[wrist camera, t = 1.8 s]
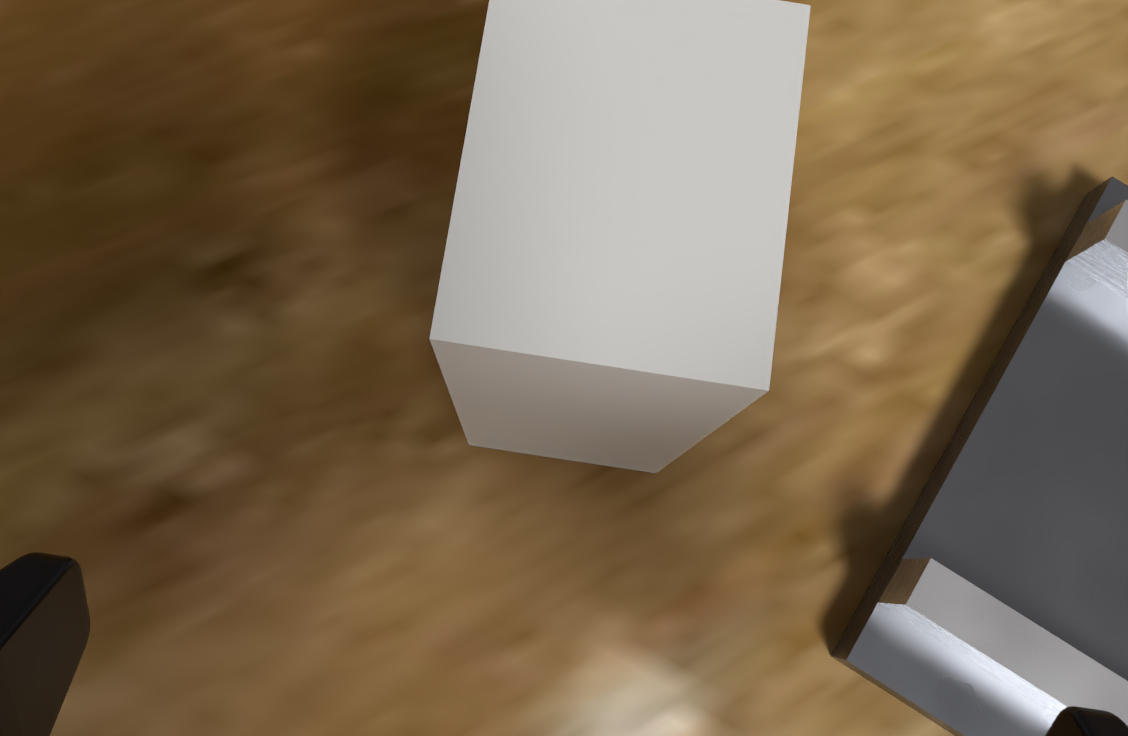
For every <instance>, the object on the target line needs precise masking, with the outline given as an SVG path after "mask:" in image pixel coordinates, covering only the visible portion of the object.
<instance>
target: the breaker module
mask: <svg viewBox="0 0 1128 736" xmlns="http://www.w3.org/2000/svg"><path fill="white" fill-rule="evenodd" d="M810 6H811V5H805V4H799V3H792V2H786V1H780V0H489V5H488V11H487V16H486V22H485V28H484V33H483V39H482V44H481V50H480V56H479V61H478V67H477V73H476V78H475V84H474V90H473V95H472V101H471V106H470V112H469V118H468V123H467V129H466V135H465V140H464V146H463V152H462V157H461V163H460V169H459V174H458V180H457V185H456V191H455V197H454V202H453V208H452V214H451V219H450V225H449V231H448V236H447V242H446V248H445V253H444V259H443V264H442V270H441V276H440V281H439V287H438V293H437V298H436V304H435V310H434V315H433V321H432V327H431V332H430V338H429V339H430V342H431V345H432V347H433V350H434V353H435V356H436V358H437V361H438V364H439V366H440V369H441V372H442V374H443V377H444V380H445V383H446V385H447V388H448V391H449V393H450V396H451V399H452V401H453V404H454V407H455V410H456V412H457V415H458V418H459V420H460V423H461V426H462V428H463V431H464V434H465V437H466V439H467V442H468V445H471V446H478V447H484V448H491V449H498V450H504V451H511V452H518V453H524V454H531V455H537V456H544V457H551V458H557V459H564V460H571V461H577V462H584V463H590V464H597V465H604V466H610V467H617V468H623V469H630V470H637V471H643V472H650V473H657V472H659V471H660V470H661V469H663V468H664V467H666V466H667V465H668V464H670V463H671V462H672V461H674V460H675V459H676V458H678V457H679V456H681V455H682V454H683V453H685V452H686V451H687V450H689V449H690V448H691V447H693V446H694V445H696V444H697V443H698V442H700V441H701V440H702V439H704V438H705V437H706V436H708V435H709V434H711V433H712V432H713V431H715V430H716V429H717V428H719V427H720V426H721V425H723V424H724V423H726V422H727V421H728V420H730V419H731V418H732V417H734V416H735V415H736V414H738V413H739V412H741V411H742V410H743V409H745V408H746V407H747V406H749V405H750V404H751V403H753V402H754V401H756V400H757V399H758V398H760V397H761V396H762V395H764V394H765V393H767V392H768V391H769V386H770V377H771V368H772V359H773V349H774V340H775V331H776V321H777V312H778V303H779V294H780V284H781V275H782V266H783V256H784V247H785V238H786V229H787V219H788V210H789V201H790V191H791V182H792V173H793V164H794V154H795V145H796V136H797V126H798V117H799V108H800V99H801V89H802V80H803V71H804V61H805V52H806V43H807V33H808V24H809V15H810Z"/></svg>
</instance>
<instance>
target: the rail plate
mask: <svg viewBox="0 0 1128 736" xmlns="http://www.w3.org/2000/svg"><path fill="white" fill-rule="evenodd" d="M832 657H833V658H835V659H836V660H838V661H839V662H841V663H842V664H844V665H846V666H847V667H849V668H850V669H852V670H853V671H855V672H857V673H858V674H860V675H861V676H863V677H864V678H866V679H868V680H869V681H871V682H872V683H874V684H875V685H877V686H878V687H880V688H882V689H883V690H885V691H886V692H888V693H889V694H891V695H893V696H894V697H896V698H897V699H899V700H900V701H902V702H904V703H905V704H907V705H908V706H910V707H911V708H913V709H914V710H916V711H918V712H919V713H921V714H922V715H924V716H925V717H927V718H929V719H930V720H932V721H933V722H935V723H936V724H938V725H940V726H941V727H943V728H944V729H946V730H947V731H949V732H950V733H952V734H954V735H955V736H1045V735H1046V733H1047V731H1048V730H1049V728H1050V727H1051V725H1052V723H1053V722H1054V720H1055V719H1056V717H1057V715H1058V714H1059V713H1060V711H1062V710H1063V709H1065V708H1067V707H1069V706H1076V707H1083V708H1090V709H1097V710H1103V711H1108V712H1110V713H1113V714H1114V715H1116V716H1117V717H1119V718H1120V719H1121V720H1122V721H1123V722H1124V723H1125V724H1126V725H1127V726H1128V186H1127V185H1126V184H1124V183H1122V182H1121V181H1119V180H1117V179H1116V178H1114V177H1111V178H1109V179H1108V180H1106V181H1105V182H1103V183H1102V184H1101V185H1099V186H1098V187H1096V188H1095V189H1093V190H1092V191H1090V192H1089V193H1087V195H1086V197H1085V199H1084V200H1083V202H1082V204H1081V206H1080V208H1079V210H1078V211H1077V213H1076V215H1075V217H1074V219H1073V220H1072V222H1071V224H1070V226H1069V228H1068V229H1067V231H1066V233H1065V235H1064V237H1063V238H1062V240H1061V242H1060V244H1059V246H1058V247H1057V249H1056V251H1055V253H1054V255H1053V256H1052V258H1051V260H1050V262H1049V264H1048V265H1047V267H1046V269H1045V271H1044V273H1043V275H1042V276H1041V278H1040V280H1039V282H1038V284H1037V285H1036V287H1035V289H1034V291H1033V293H1032V294H1031V296H1030V298H1029V300H1028V302H1027V303H1026V305H1025V307H1024V309H1023V311H1022V312H1021V314H1020V316H1019V318H1018V320H1017V321H1016V323H1015V325H1014V327H1013V329H1012V331H1011V332H1010V334H1009V336H1008V338H1007V340H1006V341H1005V343H1004V345H1003V347H1002V349H1001V350H1000V352H999V354H998V356H997V358H996V359H995V361H994V363H993V365H992V367H991V368H990V370H989V372H988V374H987V376H986V377H985V379H984V381H983V383H982V385H981V387H980V388H979V390H978V392H977V394H976V396H975V397H974V399H973V401H972V403H971V405H970V406H969V408H968V410H967V412H966V414H965V415H964V417H963V419H962V421H961V423H960V424H959V426H958V428H957V430H956V432H955V433H954V435H953V437H952V439H951V441H950V442H949V444H948V446H947V448H946V450H945V452H944V453H943V455H942V457H941V459H940V461H939V462H938V464H937V466H936V468H935V470H934V471H933V473H932V475H931V477H930V479H929V480H928V482H927V484H926V486H925V488H924V489H923V491H922V493H921V495H920V497H919V498H918V500H917V502H916V504H915V506H914V508H913V509H912V511H911V513H910V515H909V517H908V518H907V520H906V522H905V524H904V526H903V527H902V529H901V531H900V533H899V535H898V536H897V538H896V540H895V542H894V544H893V545H892V547H891V549H890V551H889V553H888V554H887V556H886V558H885V560H884V562H883V564H882V565H881V567H880V569H879V571H878V573H877V574H876V576H875V578H874V580H873V582H872V583H871V585H870V587H869V589H868V591H867V592H866V594H865V596H864V598H863V600H862V601H861V603H860V605H859V607H858V609H857V610H856V612H855V614H854V616H853V618H852V619H851V621H850V623H849V625H848V627H847V629H846V630H845V632H844V634H843V636H842V638H841V639H840V641H839V643H838V645H837V647H836V648H835V650H834V652H833V654H832Z"/></svg>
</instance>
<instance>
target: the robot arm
mask: <svg viewBox="0 0 1128 736" xmlns="http://www.w3.org/2000/svg"><path fill="white" fill-rule="evenodd" d="M89 631H90V616H89V610H88V605H87V599H86V594H85V588H84V582H83V577H82V571H81V568H80V565H79V564H78V562H77V561H76V560H75V559H73V558H71V557H66V556H59V555H52V554H45V553H37V552H34V553H29V554H26V555H24V556H22V557H20V558H18V559H16V560H15V561H13V562H12V563H10V564H9V565H7V566H5V567H4V568H2V569H1V570H0V736H50V733H51V731H52V728H53V726H54V723H55V721H56V719H57V716H58V714H59V711H60V709H61V706H62V704H63V701H64V699H65V696H66V694H67V691H68V689H69V686H70V684H71V681H72V679H73V677H74V674H75V672H76V669H77V667H78V664H79V662H80V659H81V657H82V654H83V652H84V649H85V647H86V644H87V640H88V637H89ZM1045 736H1128V726H1127V725H1126V724H1125V723H1124V722H1123V721H1122V720H1121V719H1120V718H1119V717H1117V716H1116V715H1114V714H1113V713H1110V712H1108V711H1103V710H1097V709H1090V708H1083V707H1076V706H1069V707H1067V708H1065V709H1063V710H1062V711H1060V713H1059V714H1058V715H1057V717H1056V719H1055V720H1054V722H1053V723H1052V725H1051V727H1050V728H1049V730H1048V731H1047V733H1046V735H1045Z"/></svg>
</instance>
